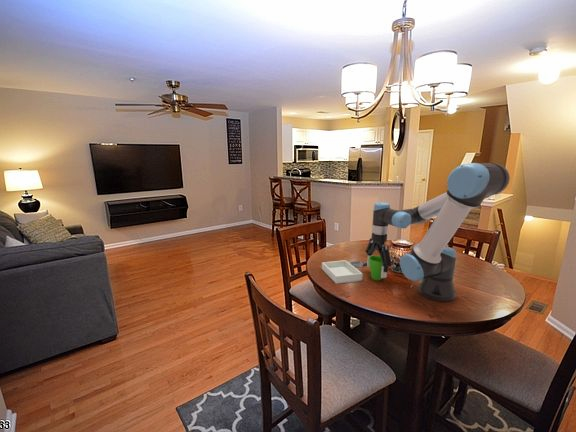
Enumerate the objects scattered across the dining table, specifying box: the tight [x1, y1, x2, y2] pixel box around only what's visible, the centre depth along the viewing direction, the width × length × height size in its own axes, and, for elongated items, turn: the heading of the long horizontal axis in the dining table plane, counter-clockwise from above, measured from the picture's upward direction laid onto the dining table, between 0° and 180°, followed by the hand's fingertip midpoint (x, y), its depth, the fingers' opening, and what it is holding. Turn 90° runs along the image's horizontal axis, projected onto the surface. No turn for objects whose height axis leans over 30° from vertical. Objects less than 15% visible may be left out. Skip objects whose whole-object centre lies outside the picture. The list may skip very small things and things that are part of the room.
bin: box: [321, 259, 364, 285], centre depth 153 cm, size 20×15×4 cm
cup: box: [369, 255, 383, 281], centre depth 148 cm, size 9×9×11 cm
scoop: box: [349, 260, 367, 269], centre depth 166 cm, size 12×5×2 cm, turn 105°
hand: (376, 271), depth 148 cm, fingers open, 13 cm apart
